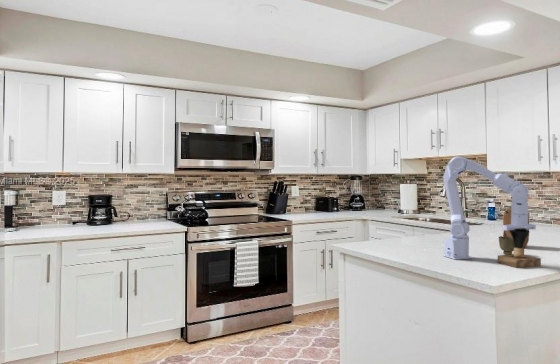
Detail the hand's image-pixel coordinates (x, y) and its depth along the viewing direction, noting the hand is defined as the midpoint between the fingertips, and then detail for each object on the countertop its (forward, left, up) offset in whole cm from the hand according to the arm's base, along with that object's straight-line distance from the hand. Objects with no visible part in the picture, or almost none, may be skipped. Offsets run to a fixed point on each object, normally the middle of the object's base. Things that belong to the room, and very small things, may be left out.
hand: (518, 247), depth 152 cm
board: (0, 0, -7) cm, 7 cm away
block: (+32, +32, -7) cm, 46 cm away
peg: (0, 0, -7) cm, 7 cm away
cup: (+12, +17, -7) cm, 22 cm away
